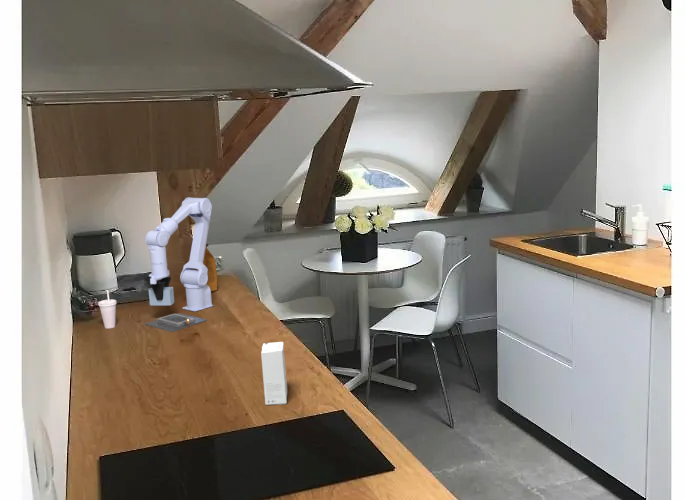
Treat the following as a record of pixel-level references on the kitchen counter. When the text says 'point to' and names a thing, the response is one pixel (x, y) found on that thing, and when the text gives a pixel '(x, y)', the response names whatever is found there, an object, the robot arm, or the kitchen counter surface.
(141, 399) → the kitchen counter surface
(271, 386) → the skincare box
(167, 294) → the light blue block
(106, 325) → the smoothie
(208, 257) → the coffee package
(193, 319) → the pocket plate
